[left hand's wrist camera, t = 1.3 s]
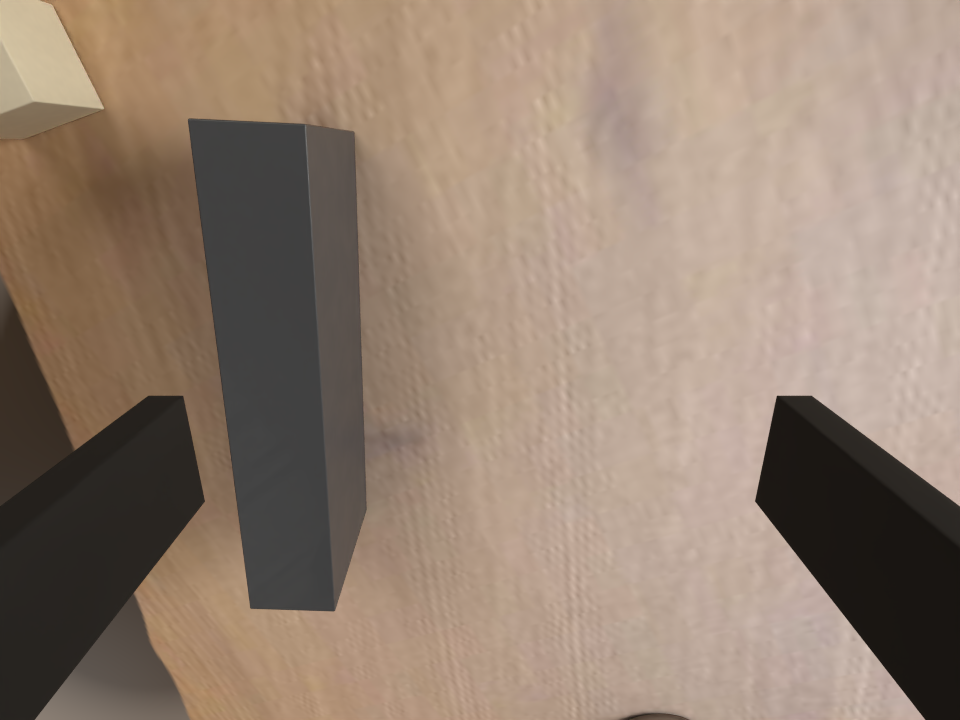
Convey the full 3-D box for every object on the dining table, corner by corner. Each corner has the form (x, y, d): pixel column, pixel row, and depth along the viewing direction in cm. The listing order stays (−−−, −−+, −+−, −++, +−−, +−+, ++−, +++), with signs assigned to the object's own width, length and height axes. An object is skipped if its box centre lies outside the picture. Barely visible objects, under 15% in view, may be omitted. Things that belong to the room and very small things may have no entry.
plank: (269, 127, 30) (187, 118, 21) (354, 131, 30) (305, 123, 21) (300, 507, 38) (249, 609, 30) (366, 510, 38) (334, 611, 30)
